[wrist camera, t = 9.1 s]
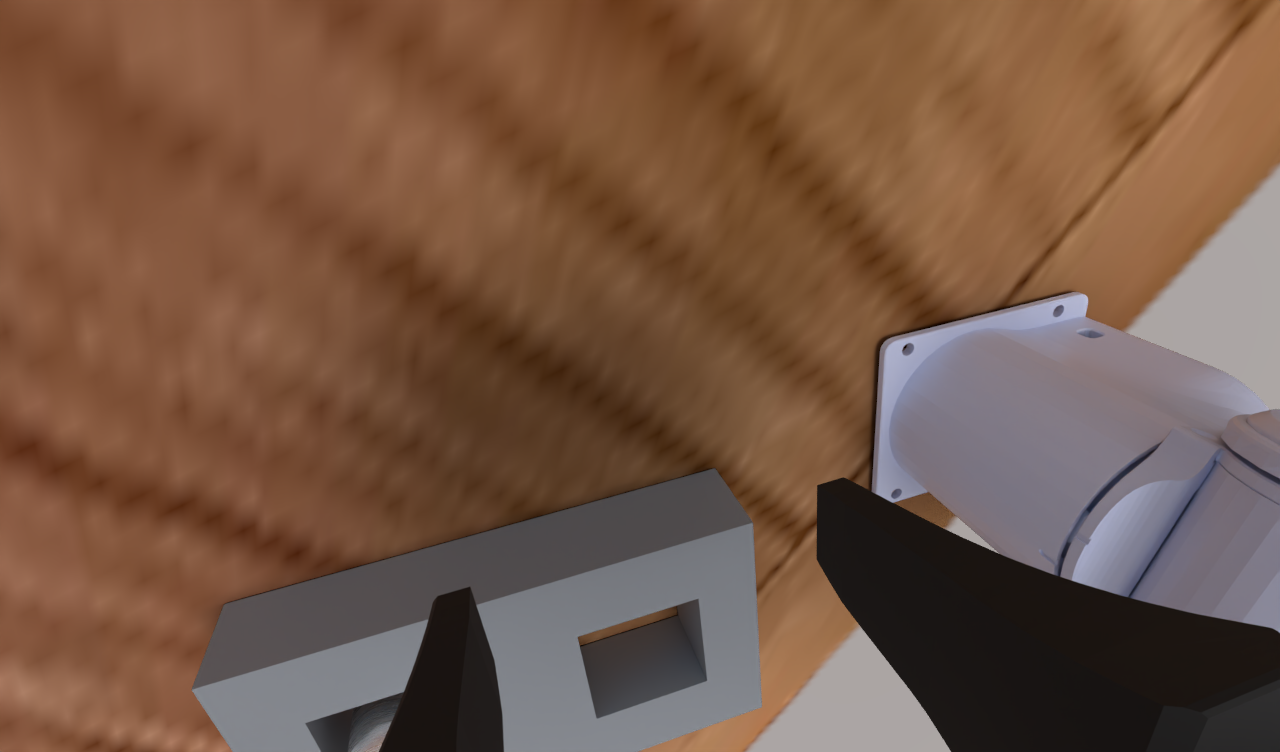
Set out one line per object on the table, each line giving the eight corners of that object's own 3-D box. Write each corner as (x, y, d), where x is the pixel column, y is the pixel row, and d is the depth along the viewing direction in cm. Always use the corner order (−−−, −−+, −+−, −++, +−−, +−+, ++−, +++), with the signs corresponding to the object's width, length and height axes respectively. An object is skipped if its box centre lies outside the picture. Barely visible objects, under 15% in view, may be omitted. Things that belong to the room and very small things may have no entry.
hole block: (715, 468, 26) (753, 522, 23) (728, 642, 30) (762, 707, 27) (224, 604, 22) (191, 689, 19) (324, 777, 27) (310, 868, 24)
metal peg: (428, 622, 25) (428, 801, 19) (448, 674, 26) (453, 856, 20) (347, 646, 24) (320, 839, 18) (372, 698, 26) (354, 893, 20)
